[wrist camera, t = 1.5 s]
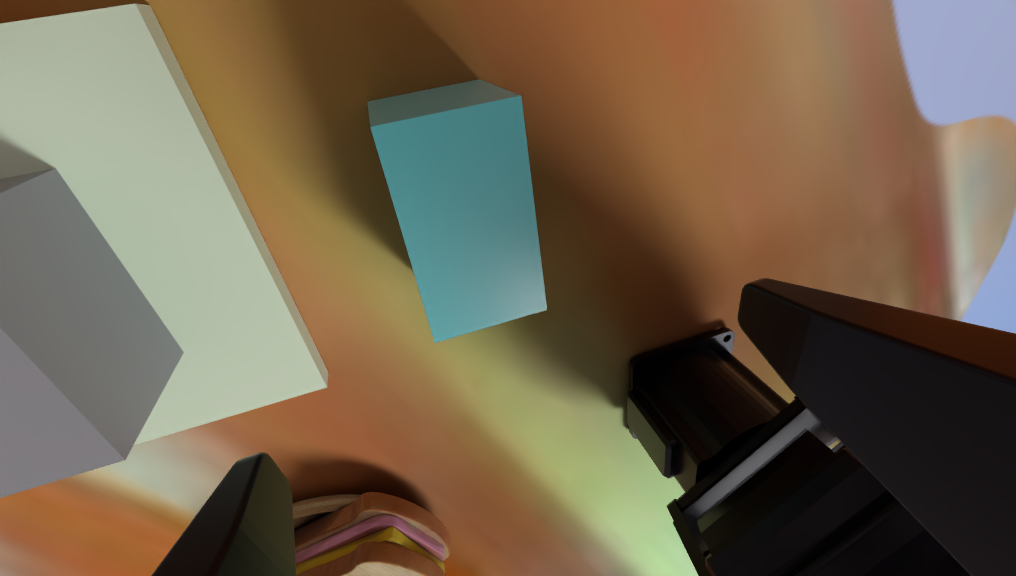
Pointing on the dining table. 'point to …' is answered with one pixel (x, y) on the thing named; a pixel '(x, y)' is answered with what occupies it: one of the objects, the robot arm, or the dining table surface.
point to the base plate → (157, 205)
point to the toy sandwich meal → (367, 537)
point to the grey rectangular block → (69, 340)
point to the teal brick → (463, 202)
